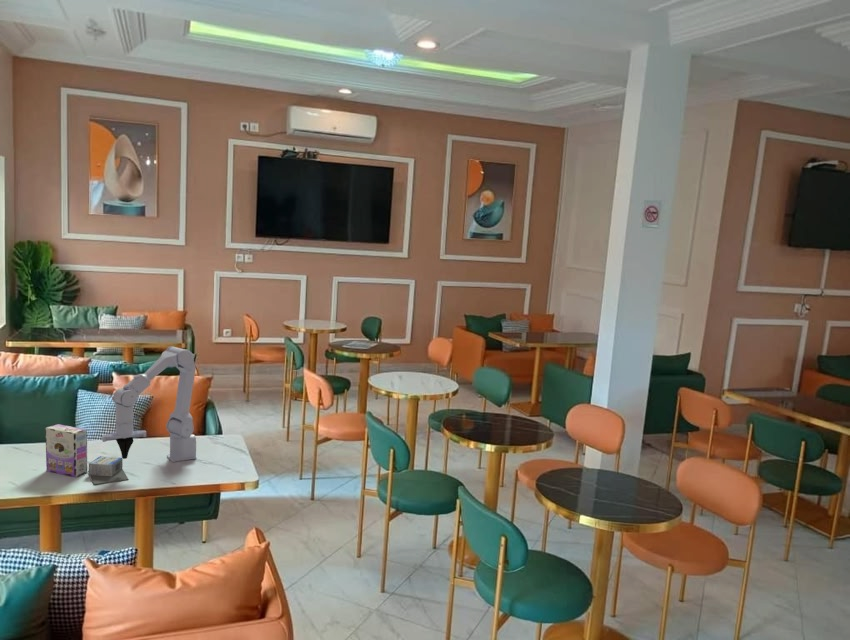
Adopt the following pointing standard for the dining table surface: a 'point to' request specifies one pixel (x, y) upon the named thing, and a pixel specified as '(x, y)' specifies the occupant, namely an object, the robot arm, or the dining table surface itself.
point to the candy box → (66, 450)
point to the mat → (109, 478)
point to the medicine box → (105, 466)
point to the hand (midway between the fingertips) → (124, 457)
